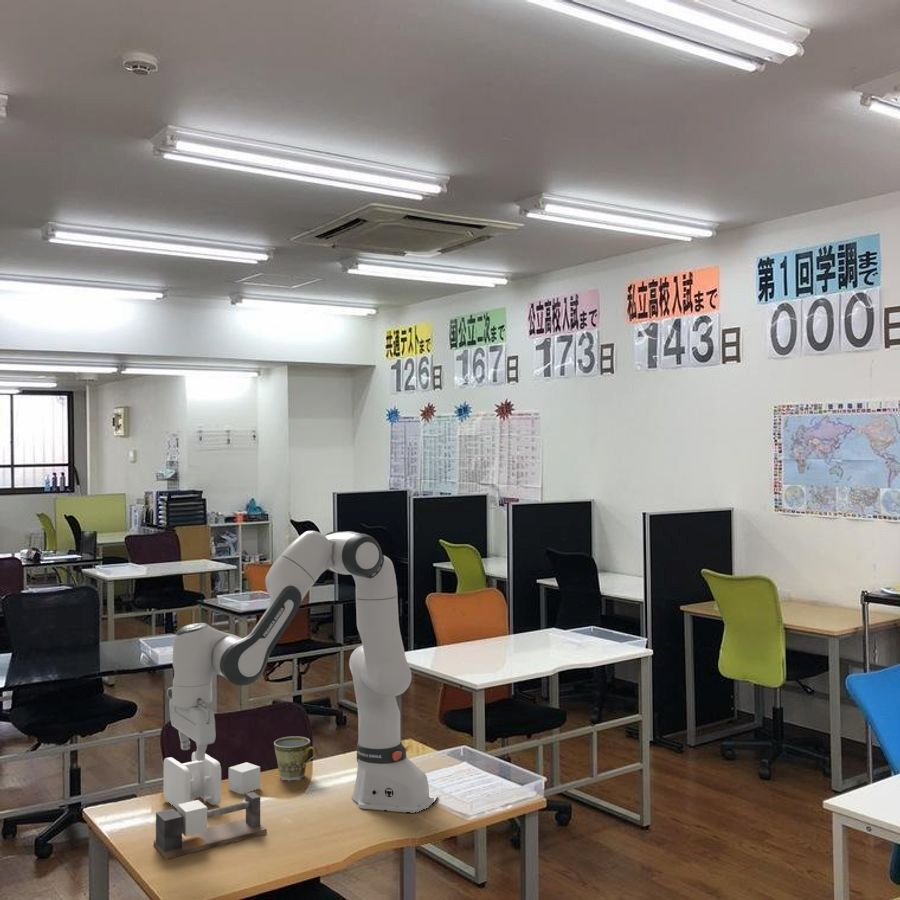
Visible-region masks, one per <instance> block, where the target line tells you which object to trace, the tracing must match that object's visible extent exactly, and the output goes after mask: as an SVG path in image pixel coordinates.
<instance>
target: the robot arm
mask: <svg viewBox="0 0 900 900" xmlns="http://www.w3.org/2000/svg"><path fill="white" fill-rule="evenodd" d="M326 571H328V572H333V573H334V572H335V573H337V574H339V575H345V576H346V575H347V576H348V575H350V576H352V578H353V580H354V583H355V609H356V611H355V612H356V627H357V628H356V629H357V631H358V633H359V636H360V640H361V644H362V645H360V646H358V647H357V648H355V649H354V650H353V651H352V652H351V654H350V658H349V661H348V667H349V669H350V670H349V671H350V672H351V676H352V681H353V688H354V695H355V700H356V706H357V707H356V708H357V717H358V727H357V728H358V729H357V731H358V732H357V733H358V741H357V744H356V761H357V771H356V777H355V783H354V788H353V792H352V795H351V796H352V797H351V798H352V800H353V801H354V802H355V803H356V804H357V805H358V806H357V807H358V808H359V809H365V810H373V811H374V810H376V811H384V810H387V812H396V813H406V812H410V813H409V814H416V813H419V811H420V812H422V811H421V810H423V809H425V810H427V809H428V808H430V807H431V806H432V805H431V804H432V803H433V801H434V798H430V797H429V790H430V788H429V787H430V786H429V781H428V777H427V775H426V773H425V772H424V771H423V769H420V767H418V766H417V765H416V764H415V763H414V762H412V760H410V759H409V758H408V757H407V752H408V751H410V745H407V746H404V744H403V742H402V741H401V712H400V708H399V706H398V702H397V698H396V697H398V696H400V695H402V694H404V693H405V692H406V691H407V690H408V689H409V686H410V684H411V682H412V671H411V668H410V666H409V664H408V661H407V657H406V652H405V647H404V643H403V639H402V634H401V629H400V623H399V622H400V620H399V603H398V601H399V600H398V597H399V596H398V585H397V578H396V576H397V575H396V573H395V572H396V571H395V568H394V564H393V561H392V559H390V558H389V557H388V556H386V555H384V554H383V551H382V549H381V546H380V544H379V542H378V541H377V540H376V539H375V538H374V537H373V536H371V535H368V534H366V533H360V532H355V531H350V530H349V531H338V530H335V531H330V532H328V533H325V534H324V533H321V532H319V531H316V530H307V531H304V532H303V533H302V534H300V535H299V536H298V537H297V538H296V539H295V540H293V541H292V542H291V543H290V544H289V545H288V546H287V547H286V548H285V549H284V550H283V551H282V552H281V554H280V555H279V556H278V557H277V558H276V560H275V561H274V562H273V564H272V565H271V567H270V568H269V570H268V572H267V574H266V576H265V579H264V581H265V588H266V592H267V594H268V595H269V604H268V606H267V609H266V610H265V611H264V613H263V614H262V616H261V617H260V619H259V620H258V621H257V623H256V625H255V626H254V627H253V629H252V630H251V632H250V633H249V634H248V635H246V636H245V637H241V636H238V635H235V634H233V633H229V632H224V631H220V630H219V629H216V628H214V627H212V626H211V625H209V624H208V623H205V622H198V623H197V622H196V623H194V622H193V623H190V624H186V625H184V626H182V627H181V628H179V629H178V630H177V631H176V633H175V635H174V639H173V646H172V647H173V648H172V667H173V671H174V672H173V674H174V676H173V679H172V686H171V687H168V688H167V691H166V692H167V693H166V695H167V698H168V699H169V702H168V703H169V707H168V708H169V718H170V719H169V720H170V724H171V726H172V727H173V728H174V729H176V730H177V731H178V736H179V741H180V749H181V750H182V751H188V750H190V749H191V741H190V739H191V740H192V741H194V742H195V745H196V751H194V752H195V759H196V760H198V761H202V760H204V759H205V754H206V751H207V748H208V745H212V744H214V743H215V741H216V736H217V735H216V734H217V733H216V719H215V713H214V710H213V709H212V708H210V707H209V704H210V703H212V702H213V678H214V677H215V676H218V675H220V676H222V677H224V678H225V679H226V680H228V681H229V682H230V683H232V684H234V685H236V686H239V687H241V686H242V687H243V686H248V685H251V684H253V683H254V682H256V681H258V679H260V677H261V676H262V675H263V673H264V672H265V670H266V668H267V664H268V661H269V658H270V655H271V653H272V651H273V649H274V647H276V644H277V643H278V642H279V640H280V638H281V637H282V635H283V634H284V632H285V631H286V629H287V628H288V627H289V625H290V623H291V622H292V621H293V619H294V617H295V616H296V614H297V612H298V610H299V608H300V606H301V604H302V601H303V600H304V598H305V596H307V594H308V592H309V591H310V590H311V588H312V587H313V586H314V584H315V583H316V582H317V581H318V579H319V577H320V576H321V575H322V574H323V573H324V572H326ZM430 805H431V806H430ZM429 806H430V807H429ZM426 808H427V809H426ZM423 811H424V810H423ZM415 812H416V813H415Z"/></svg>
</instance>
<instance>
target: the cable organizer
mask: <svg viewBox="0 0 900 900" xmlns="http://www.w3.org/2000/svg"><path fill="white" fill-rule="evenodd" d="M195 752H196V751H193V752H192V754H191V761H187V762H184V763H183V762H182V763H181V762H180V761H178V760H177V759H175V758H174V757H166V758H164V760H163V796H164V799H165V801H166V802H167V803H168V802H169V803H170V804H171V805H170V804H169V803H168V804H169V805H170V806H172V805H173V806H172V807H174V808H175V809H177V804H182V803H186V802H191V801H195V799H196V798H199V797H200V799H203V802H204V803H206V802H207V803H208V802H209V803H210V804H209V803H208V804H209V805H211V806H212V805H213V806H216V805H219V804H220V803H221V801H222V767H221V763H220V761H219V760H217V759H215V758H214V757H211V756H210V755H209V754H207V753H205V759H204V760H202V761H198V760H196V759H195ZM203 802H202V803H203Z"/></svg>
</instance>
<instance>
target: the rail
mask: <svg viewBox="0 0 900 900" xmlns="http://www.w3.org/2000/svg"><path fill="white" fill-rule="evenodd" d="M243 810H245V818H243V819H238V820H233V821H230V822H227V823H221V824H218V825H214V826H209V827H207V832H203V833H199V834H195V835H191V836H187V837H186V836H185V835H183V834H182V824H183V816H181V815H180V814H178V813H177V810H175V809H174V808H170V809H165V810H161V811H157V812H155V840H154V841H153V846H154V848H156V849H157V850H158V851H159V852H160V854H163V855H164V856H163V855H162V856H163V857H164V858H165V859H166V858H169V859H171V858H175V857H176V858H177V857H180V856H183V855H187V854H192V853H195V852H199V851H203V850H207V849H211V848H214V846H215V847H218V845H219V846H222V845H221V844H223V845H226V844H225V843H227V844H229V842H231V843H234V842H233V841H235V842H238V841H237V840H239V841H242V840H246V839H249V837H250V838H254V837H258V836H261V835H260V834H262V835H265V834H264V833H266V834H267V831H268V830H267V828H266V827H265V826H264V825H262V824H261V796H260V795H258V794H257V793H256V792H255V791H252V792H249V793H246V794H245V801H243V802H239V803H235V804H231V805H230V804H229V805H227V806H221V807H217V808H211V809H207V819H208V818H209V819H210V818H213V817H217V816H218V817H219V816H222V815H226V814H231V813H235V812H239V811H243ZM257 835H258V836H257ZM245 838H246V839H245ZM210 847H211V848H210Z"/></svg>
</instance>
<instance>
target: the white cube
mask: <svg viewBox="0 0 900 900" xmlns="http://www.w3.org/2000/svg"><path fill="white" fill-rule="evenodd" d="M190 801H191V800H190ZM176 809H177V810H176V812H177V813H178V814H180V815H181V816H183V824H182V834H183V835H185V836H186V837H187V836H191V835H195V834H199V833H203V832H207V828H208V818H207V811H208V807H207V806H206V805H205V803H203V802H202V801H201V800H199V799H197V800H196V799H194V801H191V802H186V803H182V804H177V808H176Z"/></svg>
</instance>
